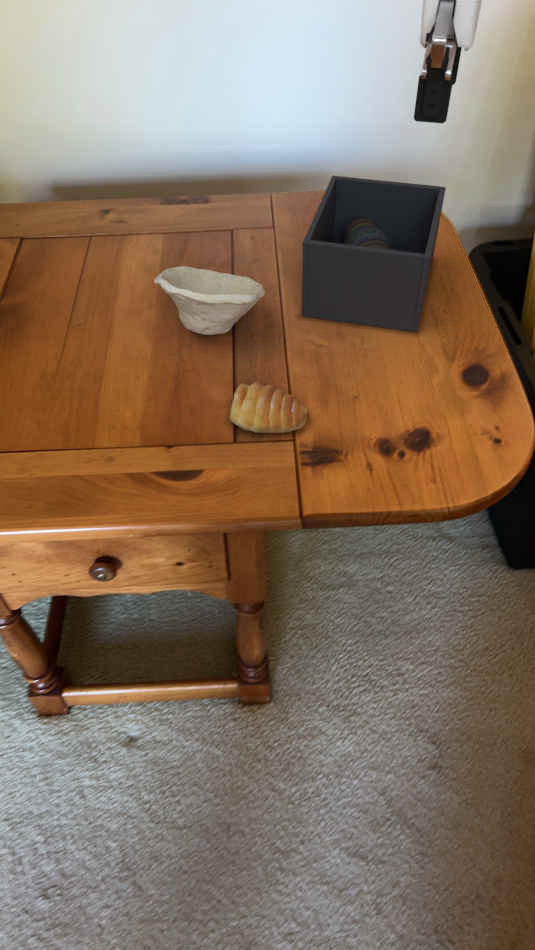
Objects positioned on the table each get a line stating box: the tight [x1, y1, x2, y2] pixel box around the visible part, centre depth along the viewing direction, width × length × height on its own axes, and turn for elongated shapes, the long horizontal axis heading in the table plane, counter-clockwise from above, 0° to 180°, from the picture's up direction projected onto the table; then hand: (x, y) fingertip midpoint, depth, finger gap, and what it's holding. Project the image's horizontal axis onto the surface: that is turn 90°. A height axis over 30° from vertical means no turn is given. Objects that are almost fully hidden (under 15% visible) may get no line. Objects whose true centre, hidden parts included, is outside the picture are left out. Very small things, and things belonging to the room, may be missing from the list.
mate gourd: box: [343, 217, 393, 250], centre depth 99 cm, size 7×8×10 cm
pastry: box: [229, 381, 309, 434], centre depth 81 cm, size 9×7×4 cm
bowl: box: [153, 265, 266, 336], centre depth 91 cm, size 15×14×10 cm
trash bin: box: [301, 175, 447, 333], centre depth 95 cm, size 17×19×12 cm
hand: (435, 101), depth 69 cm, fingers open, 9 cm apart
